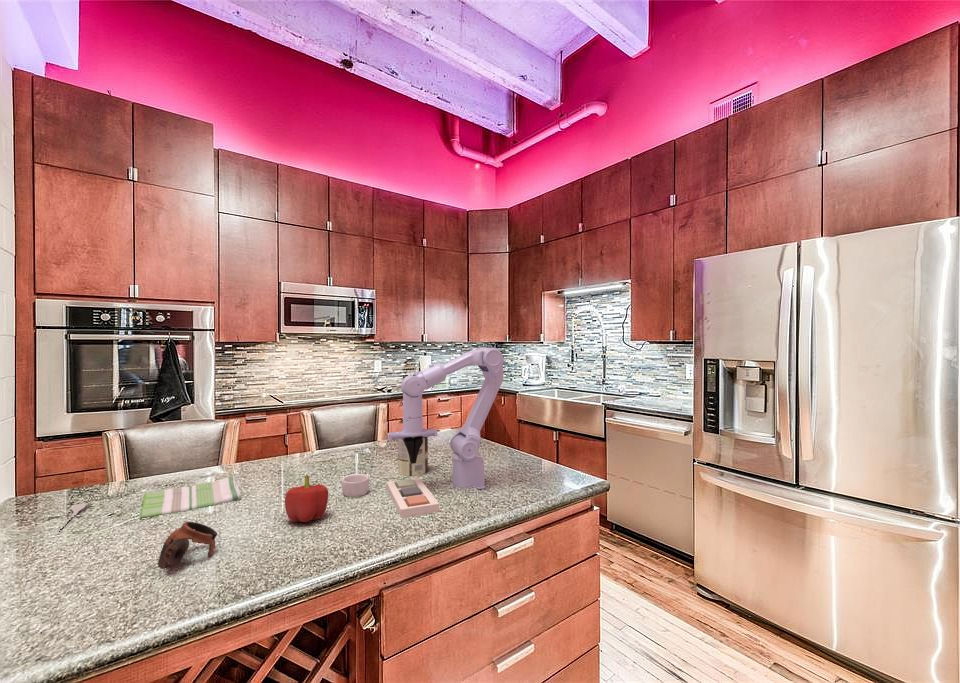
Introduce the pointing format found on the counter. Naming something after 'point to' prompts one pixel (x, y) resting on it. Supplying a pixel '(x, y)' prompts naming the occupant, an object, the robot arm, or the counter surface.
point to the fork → (78, 508)
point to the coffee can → (404, 460)
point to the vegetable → (306, 502)
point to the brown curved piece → (185, 542)
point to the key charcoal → (410, 491)
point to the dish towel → (190, 497)
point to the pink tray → (401, 501)
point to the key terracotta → (416, 500)
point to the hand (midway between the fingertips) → (413, 462)
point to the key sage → (405, 483)
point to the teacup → (355, 485)
